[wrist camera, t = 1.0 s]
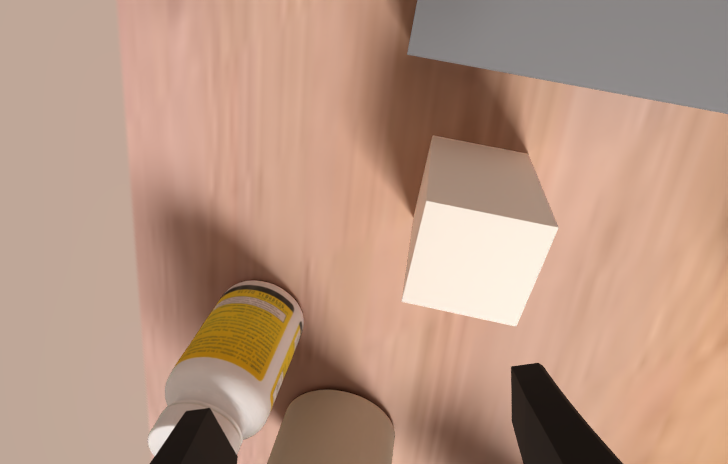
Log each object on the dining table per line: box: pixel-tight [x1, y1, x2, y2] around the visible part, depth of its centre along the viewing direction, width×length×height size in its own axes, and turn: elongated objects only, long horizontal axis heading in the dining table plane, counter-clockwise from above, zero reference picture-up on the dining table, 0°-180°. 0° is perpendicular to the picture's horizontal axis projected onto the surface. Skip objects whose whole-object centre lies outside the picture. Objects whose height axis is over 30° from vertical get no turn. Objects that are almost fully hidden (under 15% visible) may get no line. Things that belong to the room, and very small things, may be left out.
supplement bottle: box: [148, 280, 304, 456], centre depth 25 cm, size 5×5×10 cm
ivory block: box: [402, 135, 558, 326], centre depth 20 cm, size 4×4×7 cm
